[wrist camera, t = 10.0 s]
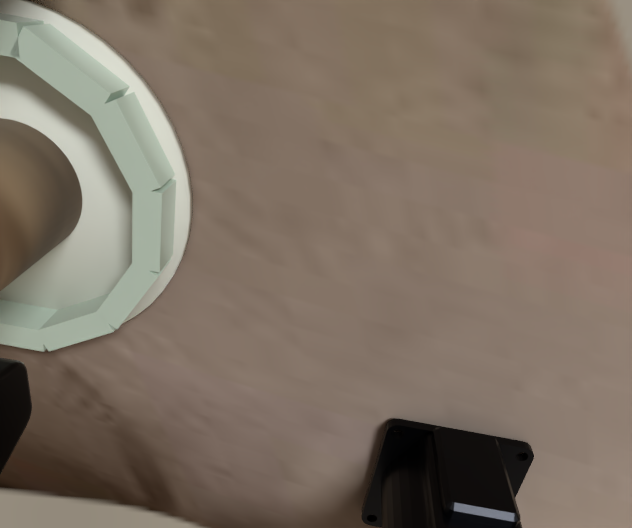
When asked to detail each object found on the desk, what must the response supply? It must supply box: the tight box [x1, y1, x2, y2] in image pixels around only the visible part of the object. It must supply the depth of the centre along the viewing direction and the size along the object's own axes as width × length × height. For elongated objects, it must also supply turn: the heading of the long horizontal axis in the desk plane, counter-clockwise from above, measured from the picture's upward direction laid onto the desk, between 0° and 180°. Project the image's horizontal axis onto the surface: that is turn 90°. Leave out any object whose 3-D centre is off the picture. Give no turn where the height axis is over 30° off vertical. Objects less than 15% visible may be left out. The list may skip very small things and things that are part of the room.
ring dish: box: [0, 0, 193, 352], centre depth 20 cm, size 13×13×2 cm
